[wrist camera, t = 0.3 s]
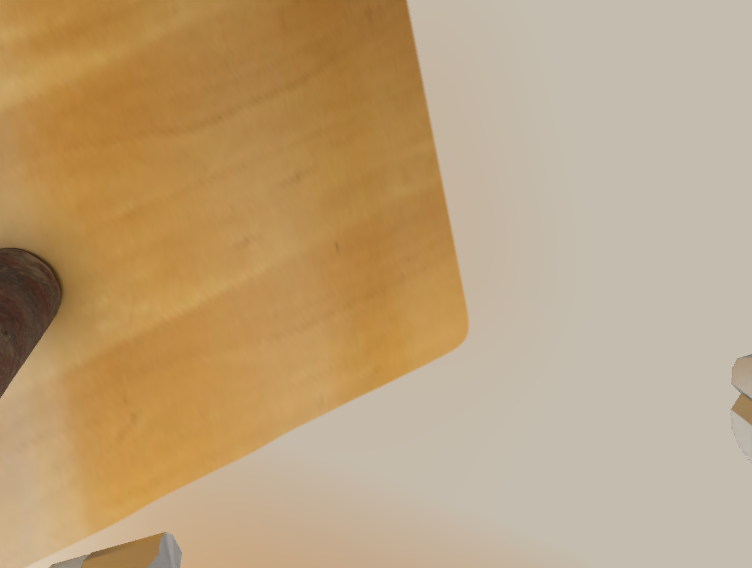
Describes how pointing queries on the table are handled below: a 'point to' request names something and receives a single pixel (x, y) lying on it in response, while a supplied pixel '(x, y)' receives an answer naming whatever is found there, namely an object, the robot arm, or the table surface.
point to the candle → (23, 308)
